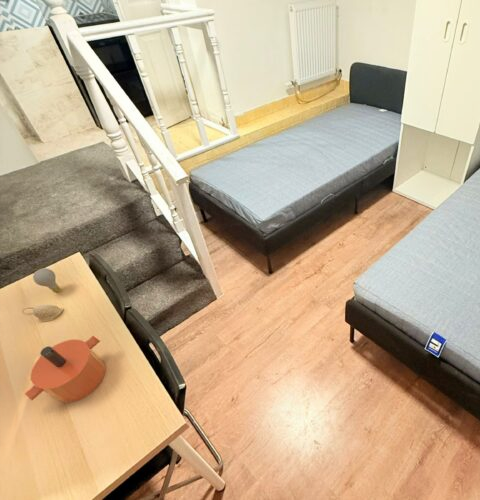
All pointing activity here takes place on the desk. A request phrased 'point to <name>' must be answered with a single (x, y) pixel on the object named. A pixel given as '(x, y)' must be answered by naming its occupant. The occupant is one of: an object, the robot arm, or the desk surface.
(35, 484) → the desk surface
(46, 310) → the decorative ornament
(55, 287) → the light bulb
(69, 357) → the pot lid
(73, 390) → the pot
